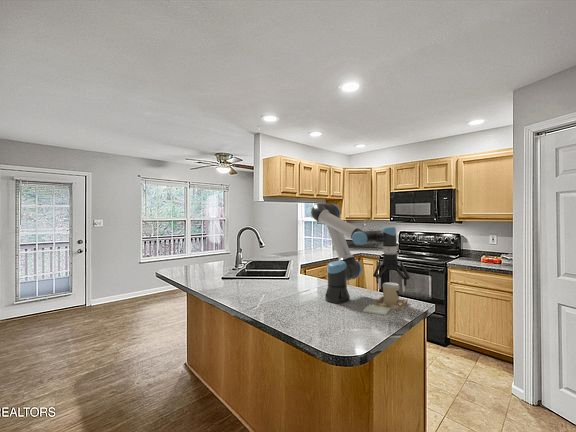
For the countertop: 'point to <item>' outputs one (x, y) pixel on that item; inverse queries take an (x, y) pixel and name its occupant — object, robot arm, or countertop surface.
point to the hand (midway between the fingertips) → (391, 290)
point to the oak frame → (391, 305)
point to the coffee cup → (391, 293)
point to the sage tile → (377, 309)
